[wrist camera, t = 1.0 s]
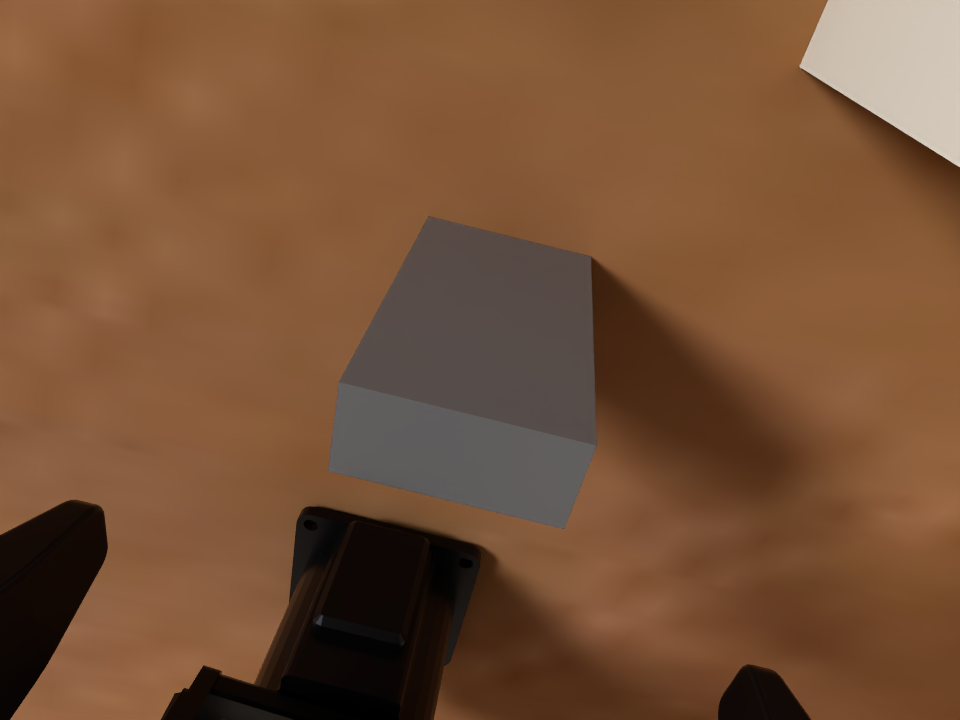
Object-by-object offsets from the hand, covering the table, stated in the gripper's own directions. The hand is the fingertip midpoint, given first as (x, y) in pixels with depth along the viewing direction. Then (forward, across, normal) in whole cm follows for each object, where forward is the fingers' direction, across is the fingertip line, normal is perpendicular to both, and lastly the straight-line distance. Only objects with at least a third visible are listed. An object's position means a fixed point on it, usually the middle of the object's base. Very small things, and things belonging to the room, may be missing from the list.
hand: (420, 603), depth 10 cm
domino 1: (+11, 0, 0) cm, 11 cm away
